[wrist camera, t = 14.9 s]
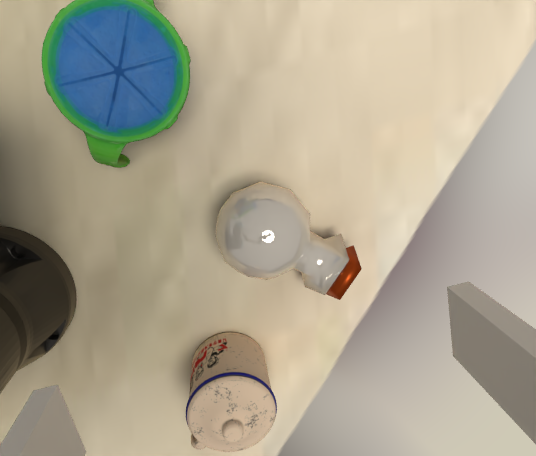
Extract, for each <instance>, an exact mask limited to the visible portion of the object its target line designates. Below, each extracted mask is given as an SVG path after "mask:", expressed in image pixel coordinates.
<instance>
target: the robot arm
mask: <svg viewBox="0 0 536 456" xmlns="http://www.w3.org/2000/svg"><path fill="white" fill-rule="evenodd" d="M447 291H448V303H449V314H450V326H451V337H452V348H453V356H454V357H455V358H456V360H458V361H459V363H460V364H461V365H462V366H463V367H464V368H465V369H466V370H467V371H468V372H469V373H470V374H471V376H472V377H473V378H474V379H475V380H476V381H477V382H478V383H479V384H480V385H481V386H482V387H483V388H484V389H485V390H486V392H487V393H488V394H489V395H490V396H491V397H492V398H493V399H494V400H495V401H496V402H497V403H498V404H499V405H500V406H501V408H502V409H503V410H504V411H505V412H506V413H507V414H508V415H509V416H510V417H511V418H512V419H513V420H514V421H515V423H516V424H517V425H518V426H519V427H520V428H521V429H522V430H523V431H524V432H525V433H526V434H527V435H528V436H529V437H530V438H531V440H532V441H533V442H534V443H535V444H536V329H534V328H533V327H532V326H530V325H529V324H527V323H526V322H525V321H523V320H522V319H520V318H519V317H517V316H516V315H515V314H513V313H512V312H510V311H509V310H508V309H506V308H505V307H504V306H502V305H501V304H499V303H498V302H496V301H495V300H494V299H492V298H491V297H489V296H488V295H487V294H485V293H484V292H482V291H481V290H480V289H478V288H477V287H475V286H474V285H473V284H471V283H470V282H465V283H461V284H457V285H453V286H449V287H447ZM75 307H76V290H75V285H74V281H73V278H72V276H71V274H70V272H69V270H68V268H67V266H66V265H65V263H64V262H63V260H62V259H61V258H60V257H59V255H58V254H57V253H56V252H55V251H54V250H53V249H51V248H50V247H49V246H48V245H47V244H45V243H44V242H42V241H41V240H39V239H37V238H36V237H34V236H32V235H30V234H27V233H25V232H22V231H20V230H16V229H13V228H8V227H2V226H0V393H1V392H2V390H3V389H4V388H5V386H6V385H7V383H8V382H9V381H10V379H11V378H12V376H13V375H14V373H15V372H16V371H18V370H20V369H21V368H23V367H25V366H26V365H28V364H30V363H32V362H33V361H35V360H37V359H38V358H40V357H42V356H43V355H45V354H46V353H47V352H48V351H50V350H51V349H52V348H53V347H54V346H55V345H56V344H57V343H58V341H59V340H60V339H61V337H62V336H63V334H64V333H65V331H66V330H67V328H68V326H69V325H70V323H71V321H72V318H73V316H74V312H75ZM85 453H86V450H85V447H84V445H83V443H82V440H81V438H80V436H79V433H78V431H77V429H76V426H75V424H74V422H73V419H72V417H71V415H70V412H69V410H68V407H67V405H66V403H65V400H64V398H63V396H62V393H61V391H60V389H59V386H58V385H54V386H50V387H46V388H42V389H38V390H34V391H33V393H32V394H31V396H30V398H29V399H28V401H27V402H26V404H25V406H24V407H23V409H22V411H21V412H20V414H19V416H18V417H17V419H16V420H15V422H14V424H13V425H12V427H11V429H10V430H9V432H8V434H7V435H6V437H5V438H4V440H3V442H2V443H1V445H0V456H85Z"/></svg>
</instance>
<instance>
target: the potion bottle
mask: <svg viewBox="0 0 536 456" xmlns="http://www.w3.org/2000/svg"><path fill="white" fill-rule="evenodd" d="M215 236H216V239H217V243H218V246H219V249H220V251H221V254H222V256H223V259H224V261H225V262H226V263H227V264H228V265H230V266H231V267H232V268H234V269H235V270H237V271H238V272H240V273H242V274H244V275H246V276H248V277H253V278H259V279H264V280H268V279H271V278H275V277H277V276H279V275H281V274H283V273H285V272H287V271H289V270H291V269H295V270H297V271H299V272H301V273H302V277H303V280H304V284H305V287H307V288H309V289H312V290H314V291H316V292H319V293H321V294H323V295H325V294H327V295H329V296H332V297H334V298H337V299H339V300H340V299H341V298H342V296H343V295H344V293H345V292H346V291H347V289H348V288H349V286H350V285H351V283H352V282H353V281H354V279H355V278H356V276H357V275H358V273H359V272H360V271H361V266H360V263H359V260H358V257H357V254H356V251H355V248H354V245H353V246H351V247H348V248H345V244H344V241H343V238H342V235H341V234H339V235H335V236H332V237H329V238H326V239H324V238H322V237H320V236H318V235H317V234H315V233H313V232H311V231H310V213H309V212H308V211H307V209H306V208H305V207H304V206H303V204H302V203H301V202H300V201H299V199H298V198H297V197H296V196H295V194H294V193H293V192H292V191H291V190H290V189H287V188H284V187H280V186H276V185H272V184H269V183H265V182H261V181H260V182H258V183H255V184H253V185H250V186H248V187H245V188H243V189H240V190H238V191H235V192H233V193H232V194H231V195H230V197H229V198H228V199H227V201H226V202H225V204H224V205H223V206H222V208H221V209H220V212H219V214H218V217H217V224H216V235H215Z"/></svg>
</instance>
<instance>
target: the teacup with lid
mask: <svg viewBox="0 0 536 456" xmlns="http://www.w3.org/2000/svg"><path fill="white" fill-rule="evenodd" d="M276 411H277V405H276V399H275V396H274V394H273V392H272V390H271V386H270V381H269V377H268V372H267V367H266V362H265V357H264V354H263V351H262V349H261V348H260V346H259V345H258V344H257V343H256V342H255V341H254V340H253V339H251V338H250V337H248V336H246V335H243V334H240V333H233V332H228V333H221V334H217V335H215V336H213V337H211V338H209V339H207V340H206V341H205V342H203V343H202V344H201V345H200V346H199V348H198V349H197V351H196V352H195V354H194V357H193V361H192V370H191V383H190V396H189V400H188V403H187V407H186V420H187V424H188V427H189V429H190V431H191V433H192V435H191V444H192V446H193V447H194V448H196V449H203V448H205V447H208V448H211V449H213V450H217V451H223V452H234V451H240V450H243V449H246V448H249V447H251V446H253V445H255V444H256V443H258V442H259V441H261V440H262V439H263V438H264V437H265V436H266V435H267V433H268V432H269V431H270V429H271V427H272V425H273V423H274V420H275V417H276Z"/></svg>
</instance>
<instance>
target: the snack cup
mask: <svg viewBox="0 0 536 456" xmlns="http://www.w3.org/2000/svg"><path fill="white" fill-rule="evenodd" d="M189 63H190V56H189V52H188V49H187V46H185V45H184V44H183V42H182V40H181V38H180V36H179V35H178V33H177V31H176V30H175V29H174V27H173V26H172V25H171V23H170V22H169V21H168V20H167V19H166V18H165V17H164V16H163V15H162V14H161V13H160V12H159V11H158V10H157V9H156V8H155V6H154V2H153V0H75V1H73V2H72V3H70V4H69V5H68V6H67V7H66V8H63V9H61V10H60V12H59V13H58V14H57V15H56V17H55V19H54V21H53V22H52V24H51V26H50V28H49V30H48V32H47V34H46V37H45V40H44V43H43V49H42V68H43V75H44V79H45V86H46V90H47V92H48V94H49V95H50V96H51V97H52V99H53V101H54V103H55V104H56V106H57V107H58V109H59V110H60V111H61V113H62V114H63V115H64V116H65V117H66V118H67V119H68V120H69V121H70V122H72V123H73V124H74V125H75V126H77V127H78V128H80V129H81V130H83V132H84V133H85V135H86V138H87V143H88V146H89V149H90V152H91V155H92V157H93V159H94V160H95V161H96V162H98V163H101V164H106V165H110V166H113V167H118V168H121V167H125V166H127V165H128V164H129V163H130V160H129V158H128V157H126V156H125V155H123V154H121V152H122V150H123V148H124V146H125V145H126V144H127V143H129V142H134V141H139V140H143V139H146V138H149V137H152V136H154V135H156V134H157V133H159V132H161V131H162V130H164V129H168V128H170V127H171V126H172V125H173V124H174V122H175V121H176V120H177V119H178V114H179V112H180V111H181V109H182V107H183V105H184V103H185V101H186V98H187V95H188V90H189V83H190V68H189Z"/></svg>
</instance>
